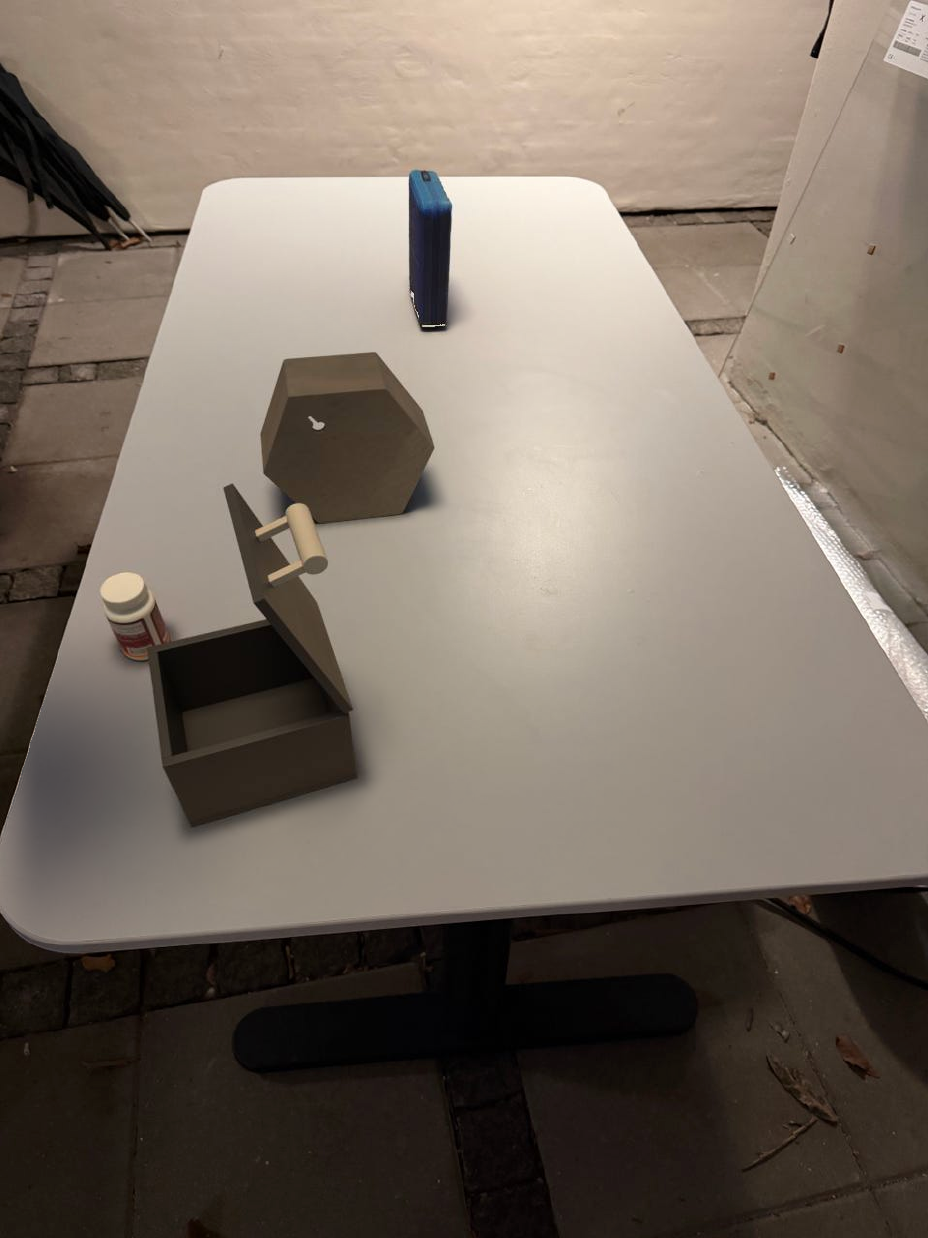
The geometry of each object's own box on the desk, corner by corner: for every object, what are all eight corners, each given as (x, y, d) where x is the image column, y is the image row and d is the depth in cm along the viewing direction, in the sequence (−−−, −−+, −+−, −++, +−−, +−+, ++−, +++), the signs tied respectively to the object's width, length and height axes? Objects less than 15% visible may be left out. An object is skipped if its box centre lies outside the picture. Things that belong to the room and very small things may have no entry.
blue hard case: (405, 293, 134) (403, 165, 119) (436, 291, 135) (437, 164, 120) (418, 334, 125) (417, 201, 110) (451, 332, 125) (454, 199, 111)
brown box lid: (253, 603, 50) (324, 569, 50) (222, 487, 58) (284, 457, 58) (344, 714, 62) (401, 686, 62) (309, 606, 70) (360, 581, 70)
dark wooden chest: (191, 827, 66) (162, 767, 59) (174, 712, 74) (146, 646, 67) (357, 778, 70) (349, 715, 63) (324, 674, 78) (313, 607, 70)
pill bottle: (146, 620, 82) (123, 562, 75) (179, 638, 80) (159, 581, 74) (111, 649, 79) (84, 591, 73) (145, 669, 77) (120, 612, 71)
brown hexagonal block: (446, 439, 97) (345, 313, 83) (459, 476, 92) (354, 349, 78) (339, 509, 102) (225, 401, 87) (346, 548, 97) (227, 441, 82)
